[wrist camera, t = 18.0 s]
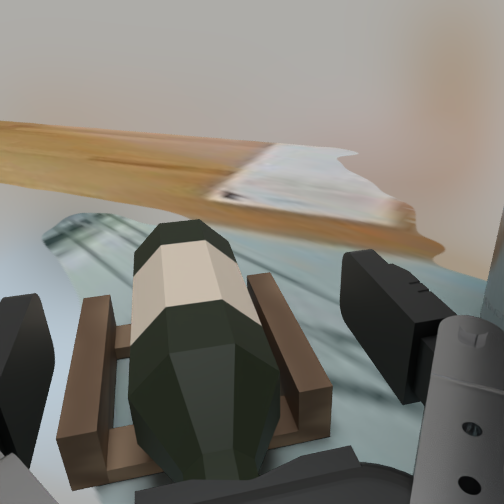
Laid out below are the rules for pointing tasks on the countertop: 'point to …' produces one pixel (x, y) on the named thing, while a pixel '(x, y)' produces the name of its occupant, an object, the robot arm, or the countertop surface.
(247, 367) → the wine bottle
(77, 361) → the cradle
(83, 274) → the countertop surface
